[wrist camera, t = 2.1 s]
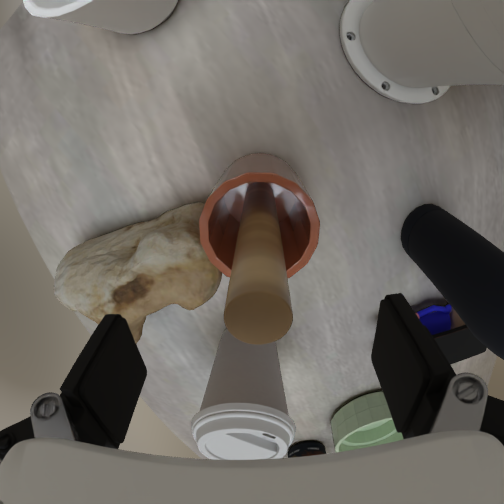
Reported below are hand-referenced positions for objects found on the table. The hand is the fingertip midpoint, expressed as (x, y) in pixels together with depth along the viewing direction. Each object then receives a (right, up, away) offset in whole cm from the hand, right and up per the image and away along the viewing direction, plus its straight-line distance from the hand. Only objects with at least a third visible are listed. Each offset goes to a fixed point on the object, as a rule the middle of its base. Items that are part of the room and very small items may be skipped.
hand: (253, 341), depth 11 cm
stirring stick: (+1, +8, +17) cm, 19 cm away
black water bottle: (+19, +5, +19) cm, 27 cm away
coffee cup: (-1, -8, +26) cm, 27 cm away
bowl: (+19, -23, +32) cm, 44 cm away
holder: (+1, +9, +18) cm, 20 cm away
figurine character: (+22, -5, +24) cm, 33 cm away
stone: (-10, +2, +21) cm, 24 cm away
